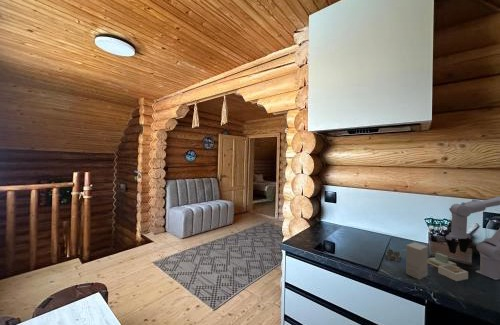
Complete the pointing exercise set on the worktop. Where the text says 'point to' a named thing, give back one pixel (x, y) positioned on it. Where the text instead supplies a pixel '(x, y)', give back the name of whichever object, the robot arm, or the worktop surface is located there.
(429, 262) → the cork mat
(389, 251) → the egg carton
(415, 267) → the skincare box
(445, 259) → the lid
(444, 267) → the box
